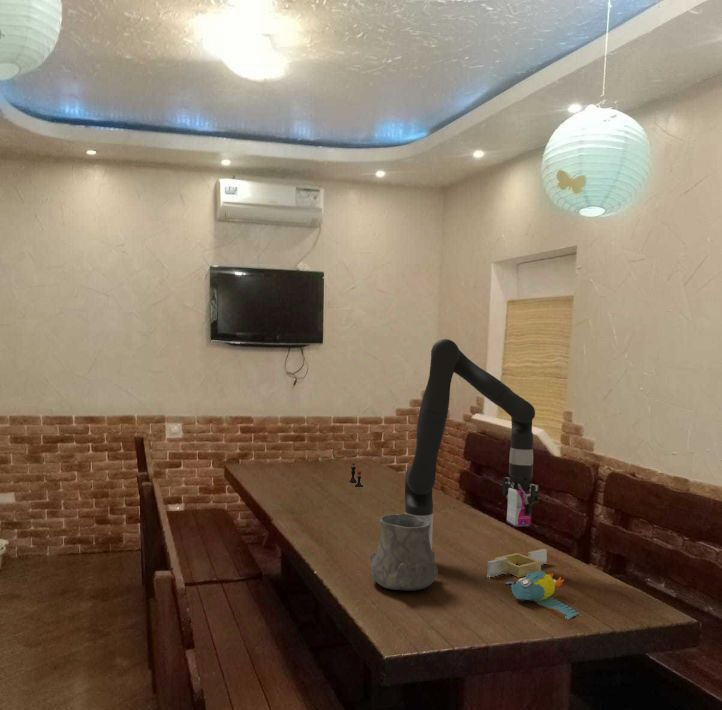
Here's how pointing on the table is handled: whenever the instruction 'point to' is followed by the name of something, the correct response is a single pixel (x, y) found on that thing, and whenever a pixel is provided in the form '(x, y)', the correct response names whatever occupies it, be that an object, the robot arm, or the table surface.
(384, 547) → the vessel
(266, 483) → the table surface
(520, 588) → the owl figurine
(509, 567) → the square frame with handle
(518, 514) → the supplement box
